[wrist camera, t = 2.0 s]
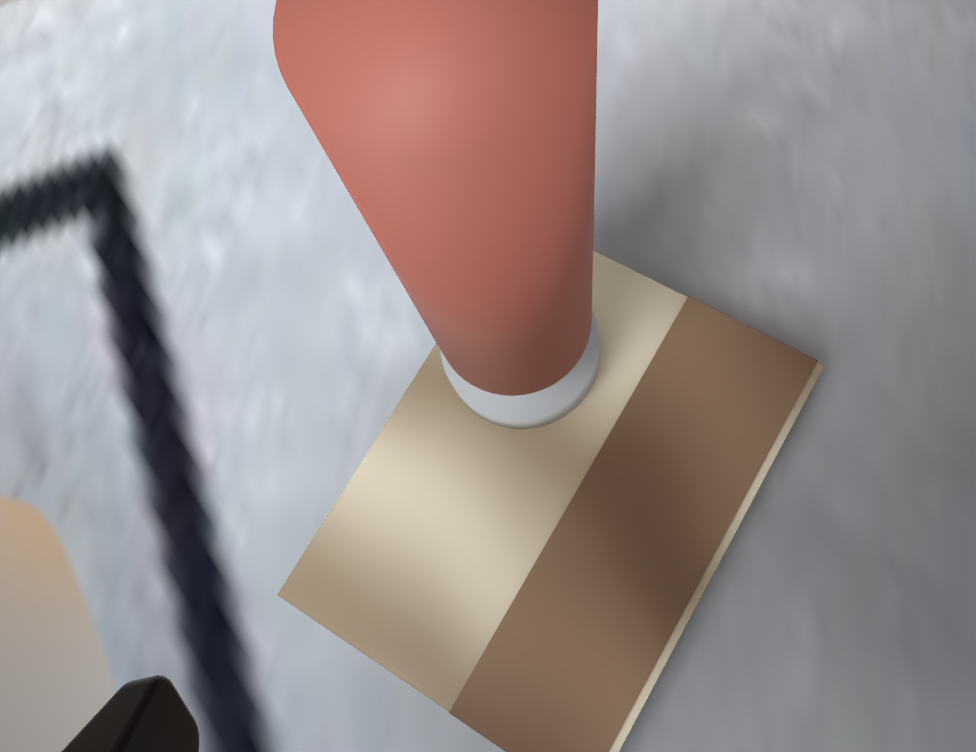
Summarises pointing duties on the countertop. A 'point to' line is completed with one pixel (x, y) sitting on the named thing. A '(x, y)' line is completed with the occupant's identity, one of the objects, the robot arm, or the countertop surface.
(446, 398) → the board
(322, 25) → the pink cylinder white base
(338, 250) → the countertop surface
